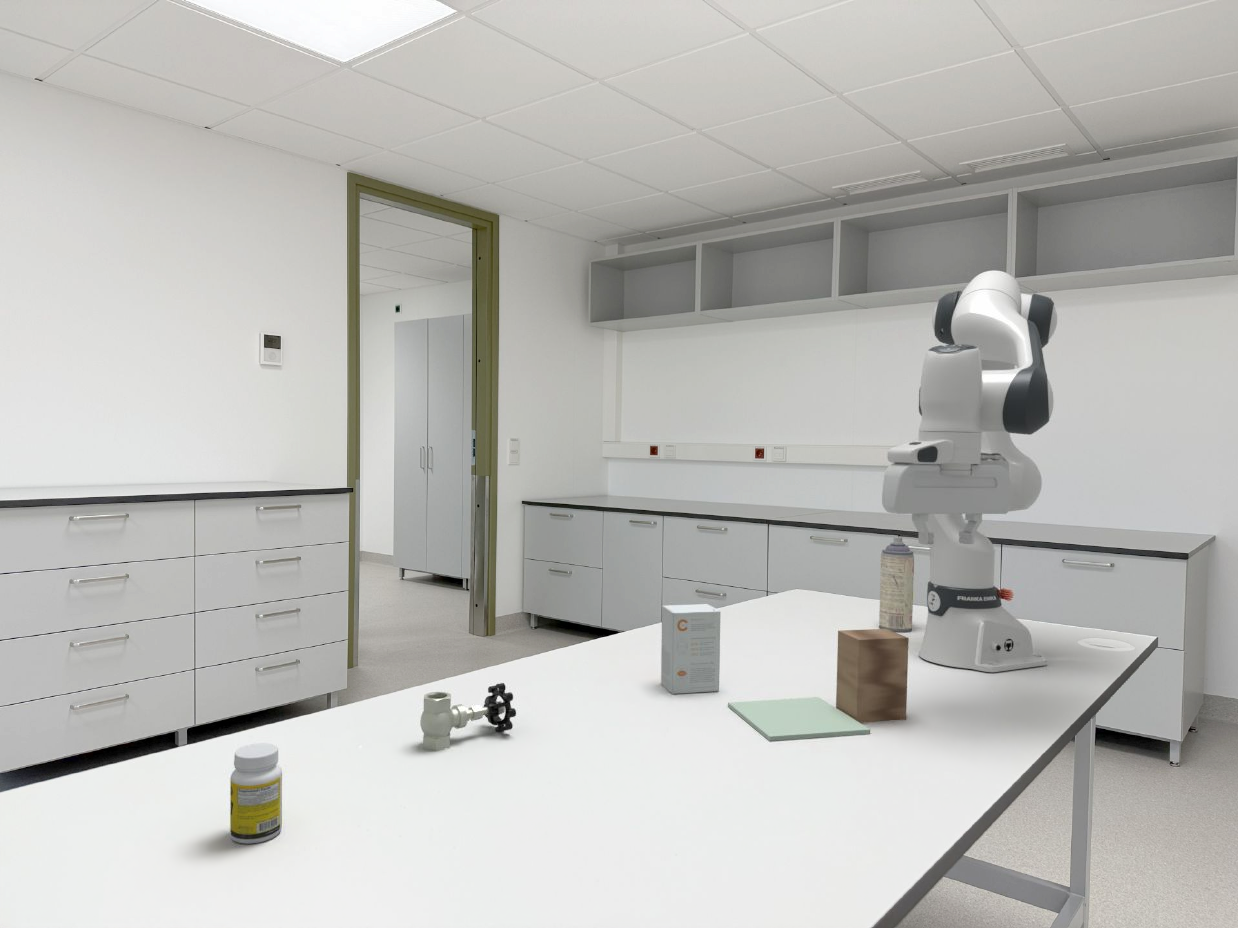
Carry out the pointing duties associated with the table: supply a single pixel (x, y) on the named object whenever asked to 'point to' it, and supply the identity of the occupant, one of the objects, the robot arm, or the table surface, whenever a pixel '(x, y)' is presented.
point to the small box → (690, 648)
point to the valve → (461, 715)
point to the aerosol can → (896, 587)
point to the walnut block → (872, 675)
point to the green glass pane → (797, 718)
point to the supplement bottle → (256, 794)
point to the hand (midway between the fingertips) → (946, 543)
